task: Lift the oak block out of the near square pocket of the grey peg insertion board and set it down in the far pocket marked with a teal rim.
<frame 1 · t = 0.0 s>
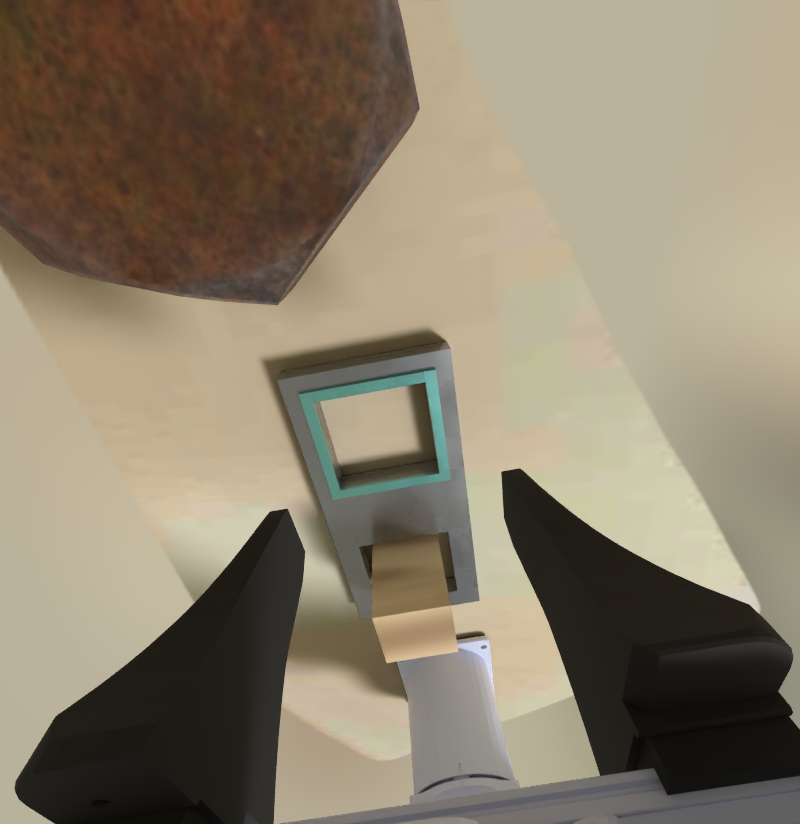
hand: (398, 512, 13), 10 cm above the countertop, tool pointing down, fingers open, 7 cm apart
bolt: (319, 160, 17), on the countertop
oak block: (409, 555, 29), resting in grey peg insertion board
grey peg insertion board: (395, 498, 26), on the countertop
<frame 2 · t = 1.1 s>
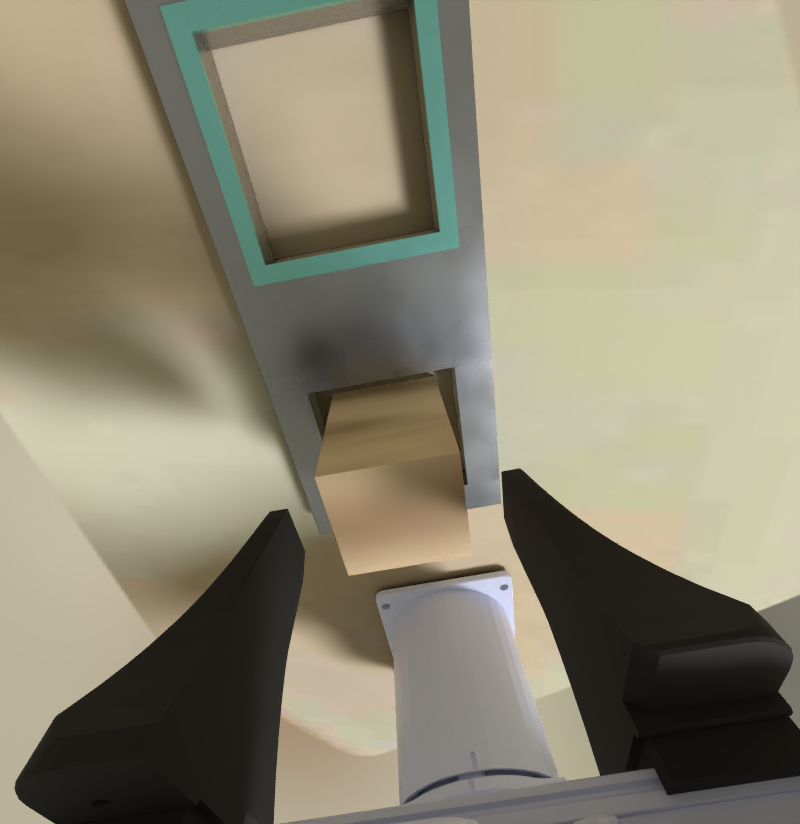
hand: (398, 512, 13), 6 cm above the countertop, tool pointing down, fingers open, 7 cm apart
oak block: (392, 427, 18), resting in grey peg insertion board
grey peg insertion board: (368, 311, 16), on the countertop
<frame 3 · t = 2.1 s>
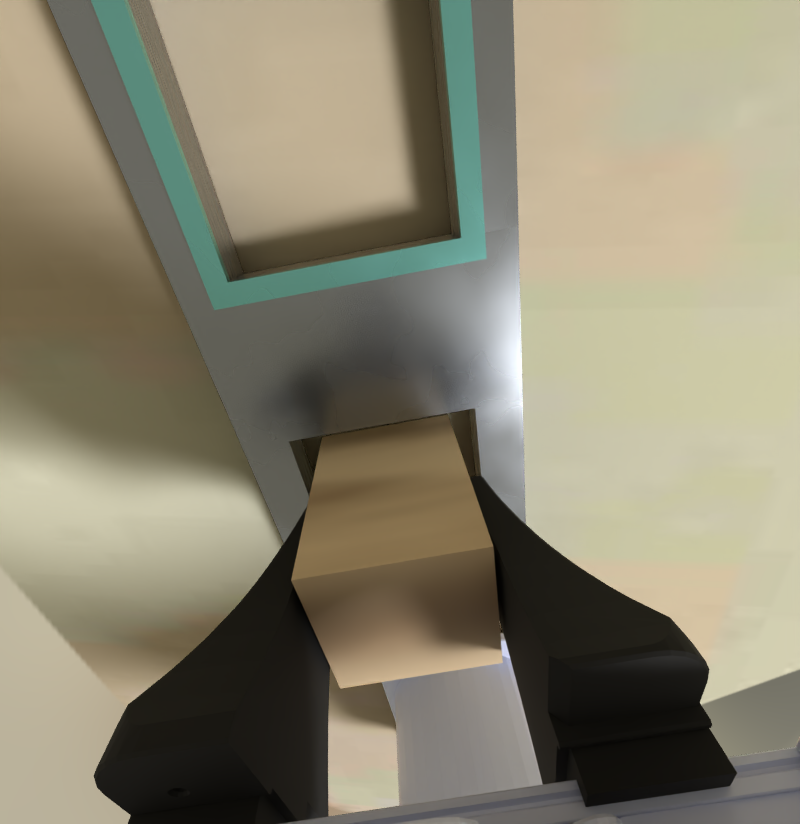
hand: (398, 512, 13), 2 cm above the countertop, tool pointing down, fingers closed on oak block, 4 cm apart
oak block: (395, 475, 15), resting in grey peg insertion board, touching gripper
grey peg insertion board: (365, 337, 12), on the countertop
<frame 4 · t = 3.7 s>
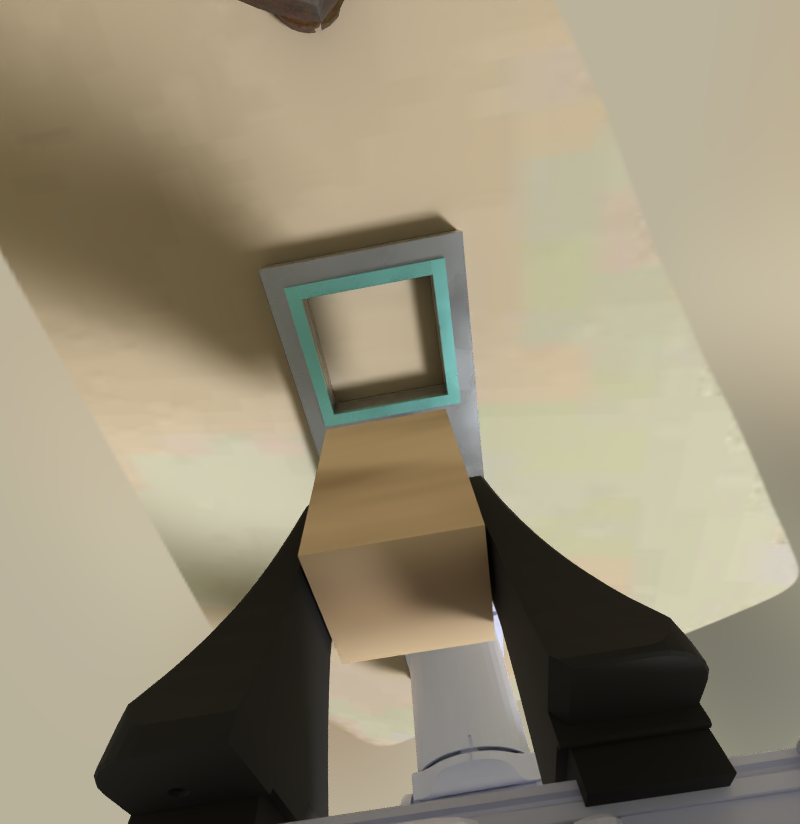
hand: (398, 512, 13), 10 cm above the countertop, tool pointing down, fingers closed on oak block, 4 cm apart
oak block: (396, 468, 16), point 7 cm above the countertop, touching gripper
grey peg insertion board: (397, 431, 23), on the countertop
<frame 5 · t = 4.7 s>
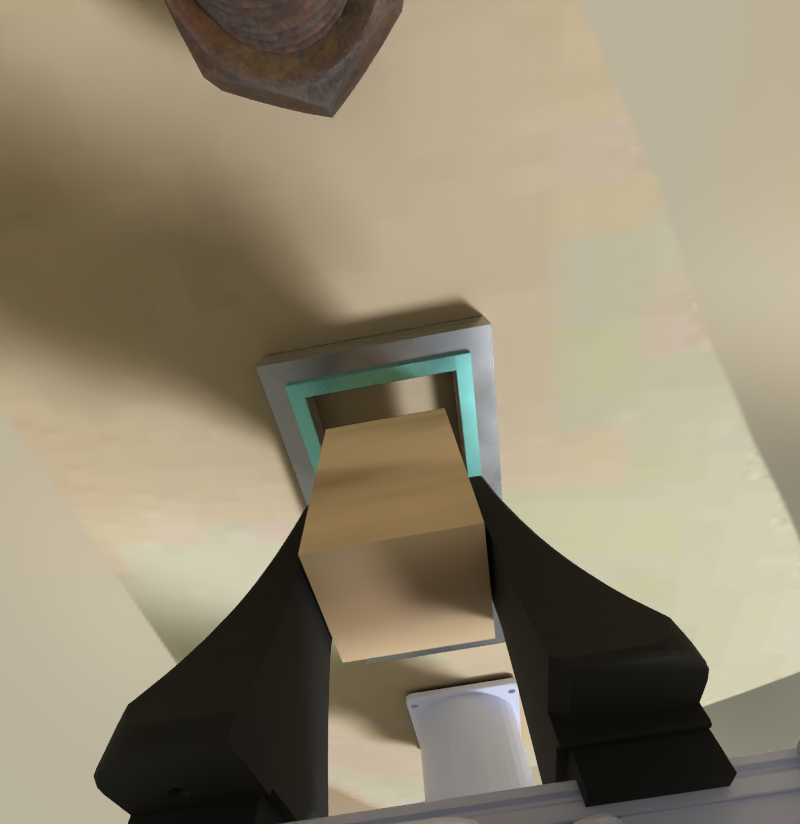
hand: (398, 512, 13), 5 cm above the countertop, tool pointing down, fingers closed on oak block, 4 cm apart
bolt: (311, 46, 12), on the countertop
oak block: (395, 467, 16), point 3 cm above the countertop, touching gripper
grey peg insertion board: (411, 519, 21), on the countertop
when the fingers open (3 cm above the countertop, at t = 5.6 s): oak block stays where it is, resting in grey peg insertion board.
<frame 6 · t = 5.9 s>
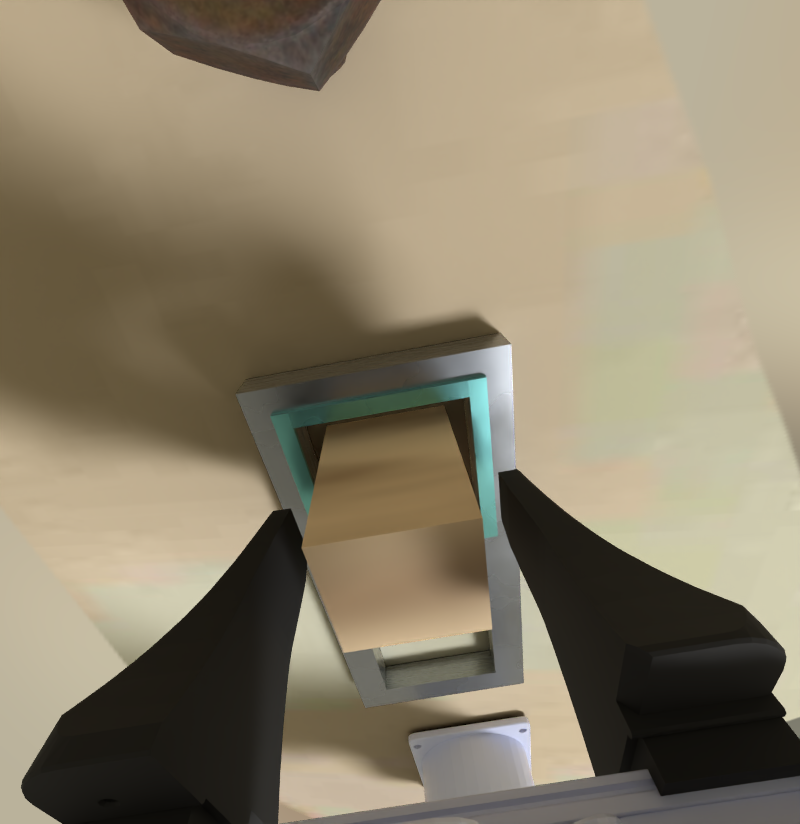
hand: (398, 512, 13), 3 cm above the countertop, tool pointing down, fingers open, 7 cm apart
bolt: (297, 9, 10), on the countertop
oak block: (395, 463, 16), resting in grey peg insertion board
grey peg insertion board: (415, 555, 18), on the countertop
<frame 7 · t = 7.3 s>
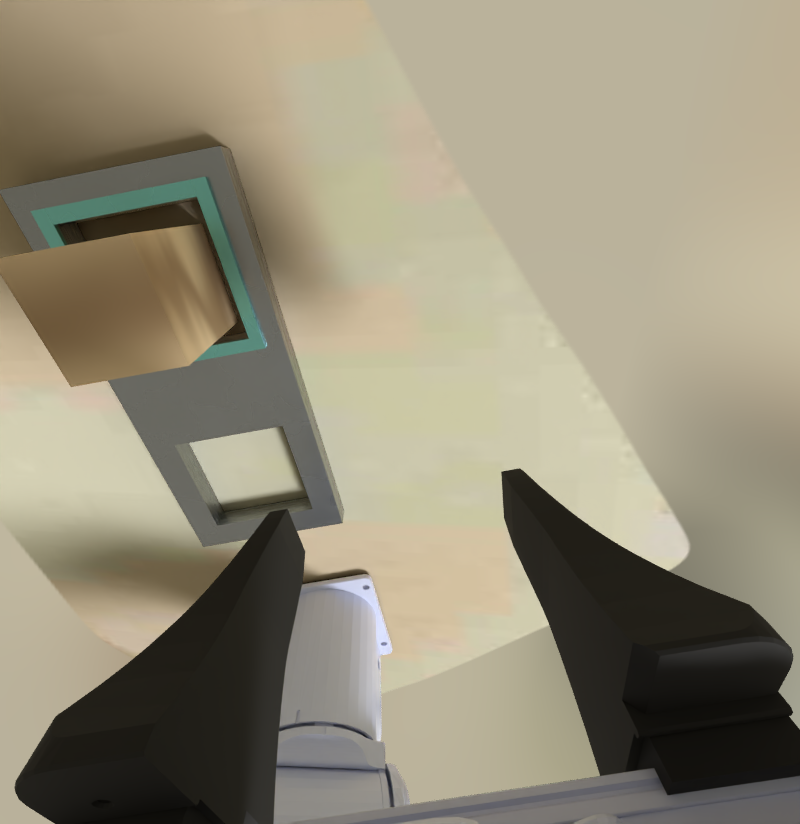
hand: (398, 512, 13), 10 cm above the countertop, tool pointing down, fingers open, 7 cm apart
oak block: (175, 283, 19), resting in grey peg insertion board
grey peg insertion board: (218, 385, 21), on the countertop
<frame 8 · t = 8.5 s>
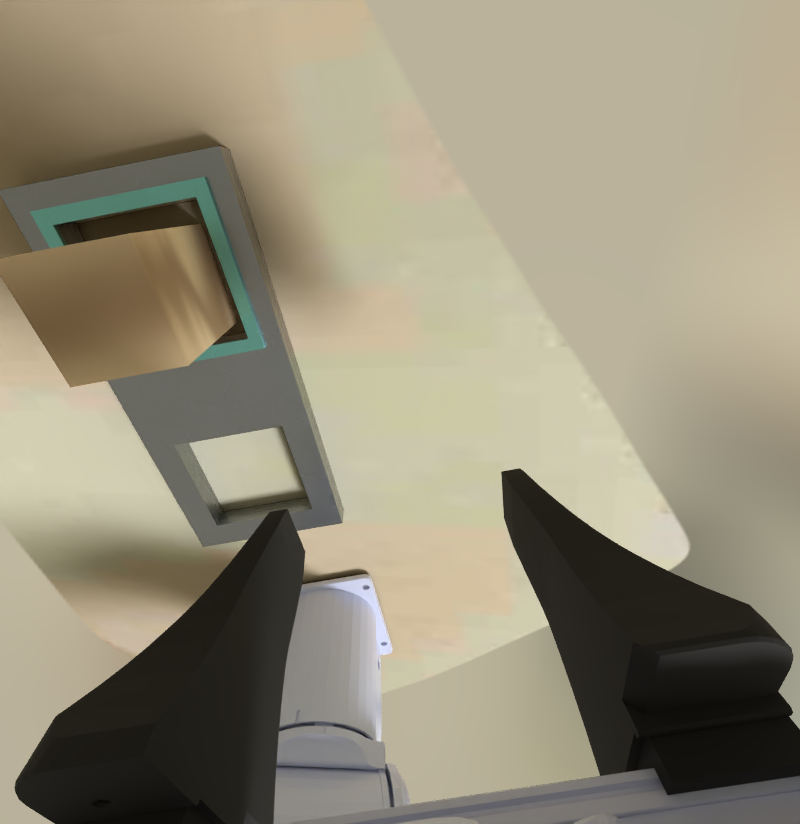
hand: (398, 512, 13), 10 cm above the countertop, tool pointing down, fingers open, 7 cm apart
oak block: (174, 283, 19), resting in grey peg insertion board
grey peg insertion board: (217, 385, 21), on the countertop
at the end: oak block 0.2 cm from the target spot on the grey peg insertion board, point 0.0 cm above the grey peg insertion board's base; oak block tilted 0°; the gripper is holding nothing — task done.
